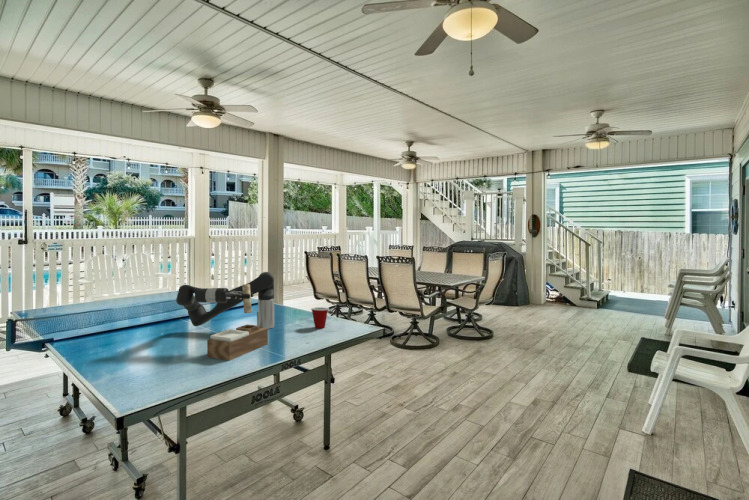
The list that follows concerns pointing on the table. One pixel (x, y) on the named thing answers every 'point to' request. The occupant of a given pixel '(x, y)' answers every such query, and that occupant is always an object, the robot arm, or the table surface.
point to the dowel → (247, 301)
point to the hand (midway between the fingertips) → (251, 295)
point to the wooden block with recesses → (238, 343)
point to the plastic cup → (319, 316)
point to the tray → (229, 335)
